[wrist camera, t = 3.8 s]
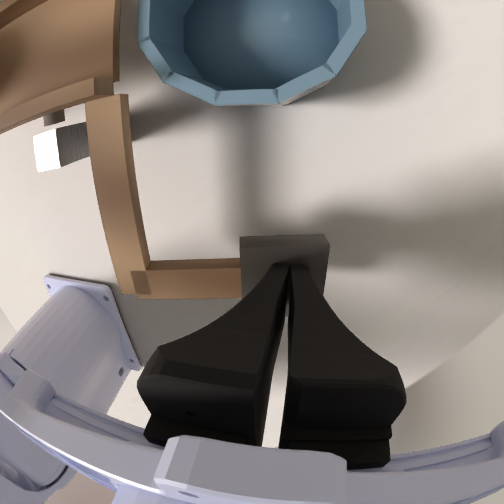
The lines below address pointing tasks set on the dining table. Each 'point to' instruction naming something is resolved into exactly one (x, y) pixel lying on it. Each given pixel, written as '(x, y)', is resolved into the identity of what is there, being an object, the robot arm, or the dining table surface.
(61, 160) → the chute stand
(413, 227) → the dining table surface
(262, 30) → the cup
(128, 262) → the tipping chute
